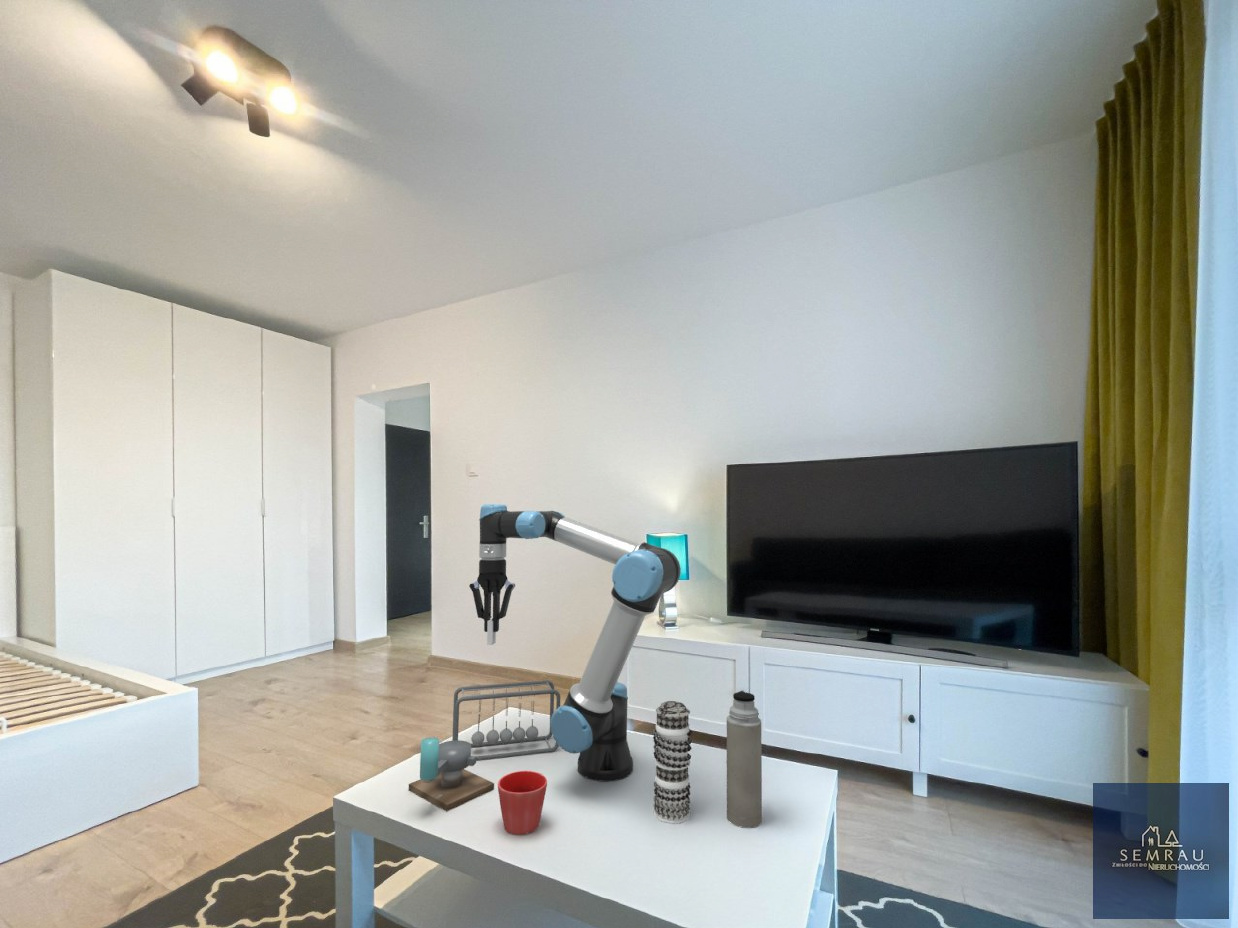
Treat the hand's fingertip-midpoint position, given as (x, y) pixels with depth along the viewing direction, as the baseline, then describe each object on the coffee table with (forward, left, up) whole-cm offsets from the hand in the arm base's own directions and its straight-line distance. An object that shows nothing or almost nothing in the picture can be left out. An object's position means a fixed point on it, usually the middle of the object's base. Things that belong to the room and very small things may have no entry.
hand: (491, 643), depth 163 cm
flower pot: (-30, +15, -33) cm, 47 cm away
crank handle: (-7, +19, -27) cm, 33 cm away
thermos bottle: (-67, -20, -33) cm, 78 cm away
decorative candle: (-53, -11, -33) cm, 64 cm away
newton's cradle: (+4, -10, -33) cm, 35 cm away
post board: (-4, +15, -33) cm, 36 cm away
